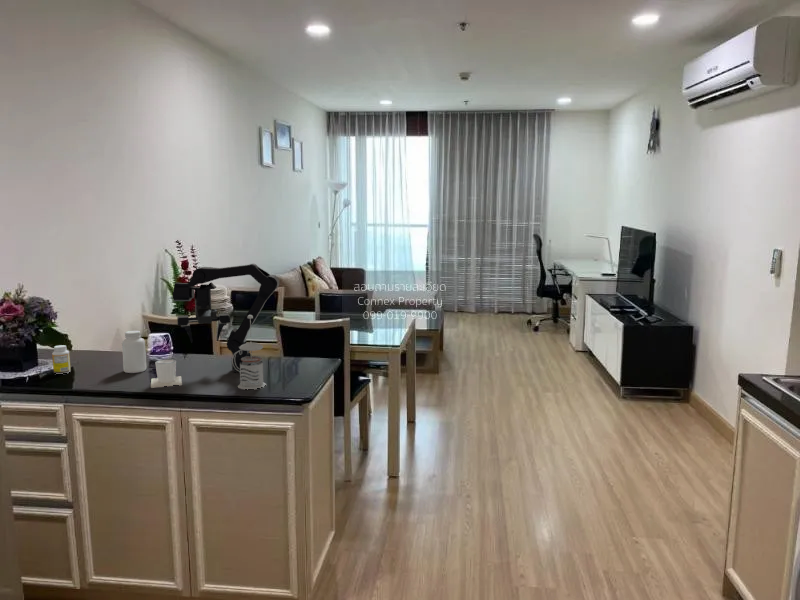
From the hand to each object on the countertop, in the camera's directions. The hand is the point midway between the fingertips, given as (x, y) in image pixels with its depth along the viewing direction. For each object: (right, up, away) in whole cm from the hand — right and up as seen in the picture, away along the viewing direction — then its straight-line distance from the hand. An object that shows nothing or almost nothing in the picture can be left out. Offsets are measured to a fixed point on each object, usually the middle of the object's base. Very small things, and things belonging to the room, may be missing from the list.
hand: (204, 341), depth 228 cm
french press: (+21, -14, -18) cm, 31 cm away
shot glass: (-8, -13, -15) cm, 22 cm away
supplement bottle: (-51, -12, -4) cm, 53 cm away
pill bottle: (-26, -11, 0) cm, 29 cm away
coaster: (-8, -13, -15) cm, 22 cm away
